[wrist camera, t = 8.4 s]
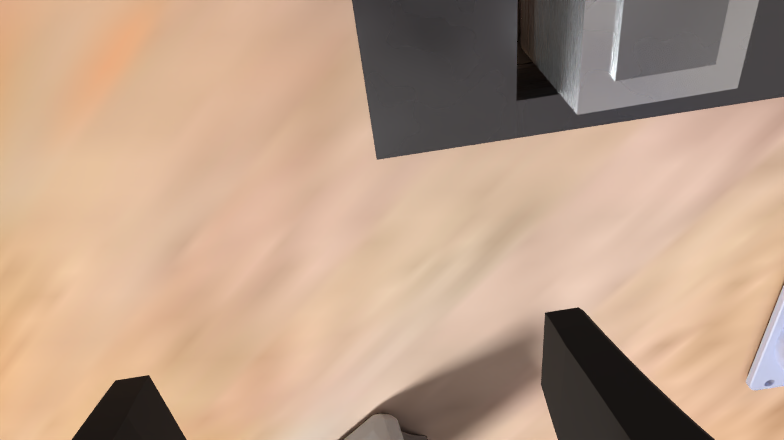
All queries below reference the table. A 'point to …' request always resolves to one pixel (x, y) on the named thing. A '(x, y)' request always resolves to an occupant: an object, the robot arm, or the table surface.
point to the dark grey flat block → (502, 76)
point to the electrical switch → (382, 430)
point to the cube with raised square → (636, 48)
